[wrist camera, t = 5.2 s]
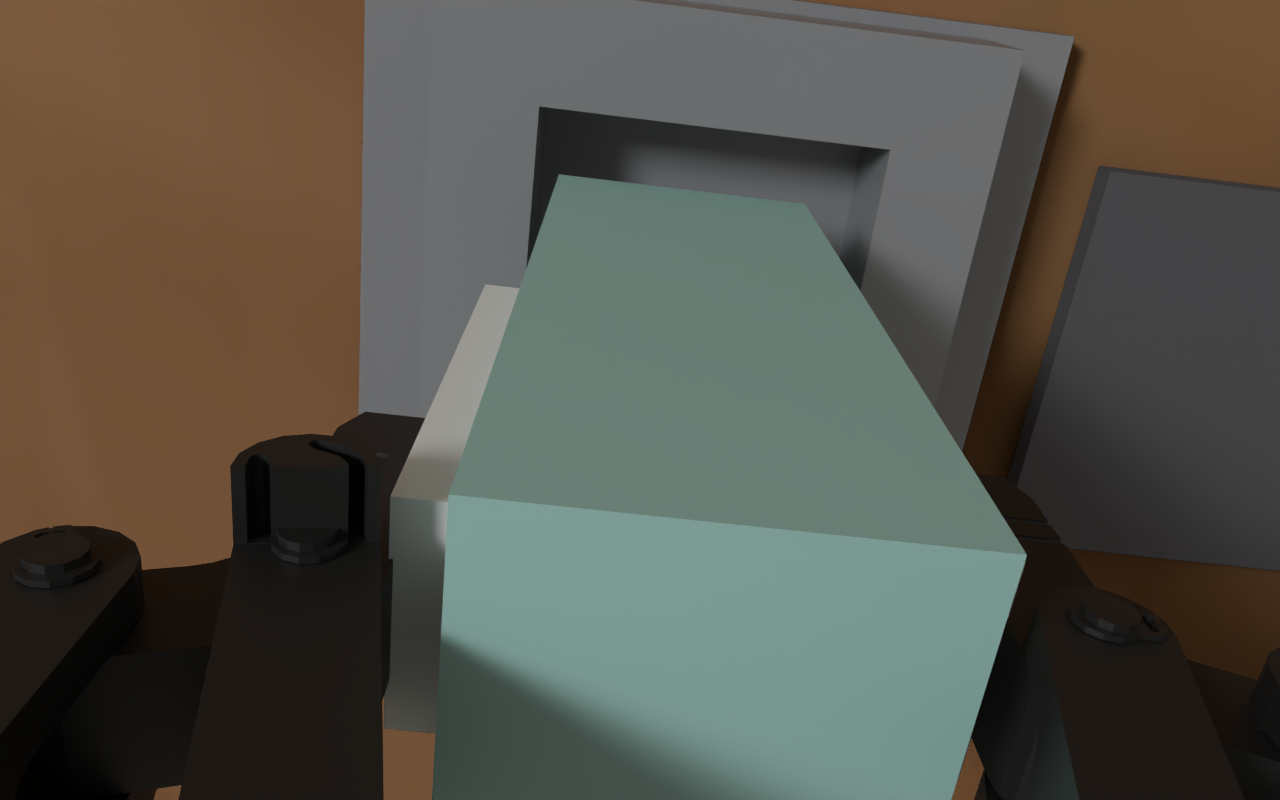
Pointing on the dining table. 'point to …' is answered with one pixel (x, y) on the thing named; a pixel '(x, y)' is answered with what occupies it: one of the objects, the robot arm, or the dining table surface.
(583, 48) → the grey socket tray
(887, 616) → the plug
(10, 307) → the dining table surface
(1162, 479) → the mat
